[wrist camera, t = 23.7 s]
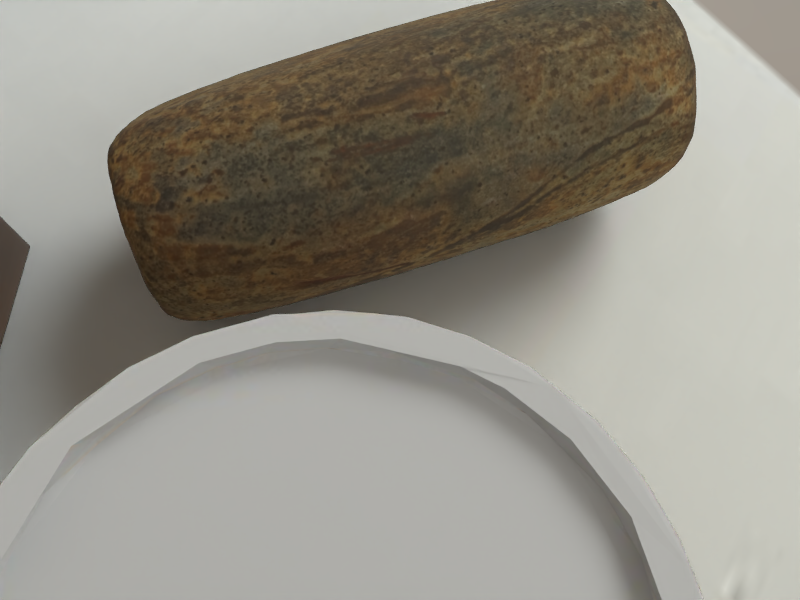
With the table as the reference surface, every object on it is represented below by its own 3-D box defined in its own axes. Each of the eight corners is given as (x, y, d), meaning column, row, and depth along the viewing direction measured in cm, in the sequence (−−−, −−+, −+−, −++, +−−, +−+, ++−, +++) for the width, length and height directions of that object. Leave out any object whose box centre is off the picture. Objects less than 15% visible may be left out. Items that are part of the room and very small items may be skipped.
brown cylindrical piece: (561, 52, 26) (616, -120, 20) (661, 218, 24) (761, 81, 17) (138, 192, 23) (50, 46, 17) (203, 391, 21) (128, 305, 15)
